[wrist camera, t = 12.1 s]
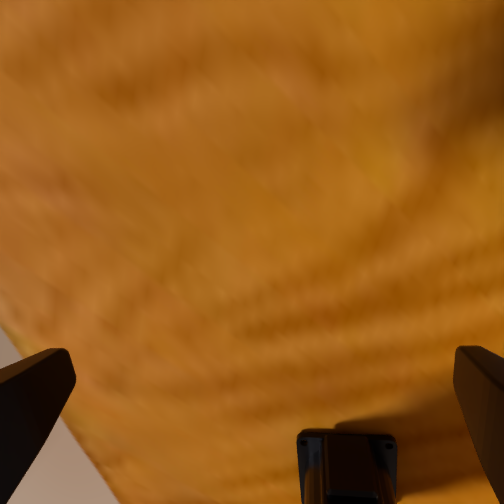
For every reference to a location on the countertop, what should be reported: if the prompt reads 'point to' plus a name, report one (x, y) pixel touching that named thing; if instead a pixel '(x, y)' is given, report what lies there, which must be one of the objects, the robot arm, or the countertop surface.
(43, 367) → the robot arm
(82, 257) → the countertop surface
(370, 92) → the countertop surface
